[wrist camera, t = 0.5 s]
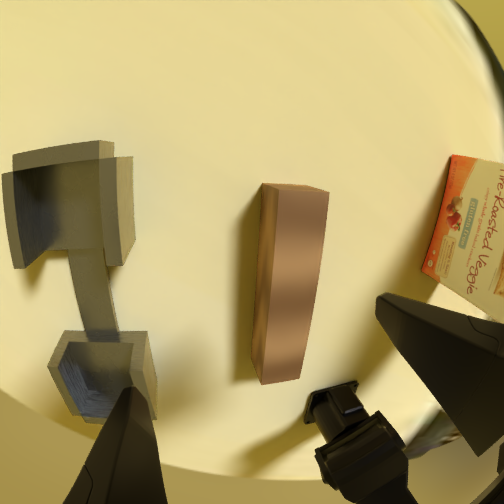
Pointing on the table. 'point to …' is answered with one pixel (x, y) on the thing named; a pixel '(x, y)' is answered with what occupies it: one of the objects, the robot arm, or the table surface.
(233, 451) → the table surface
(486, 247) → the cracker box
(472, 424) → the robot arm
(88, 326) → the brackets
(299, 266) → the walnut rail
